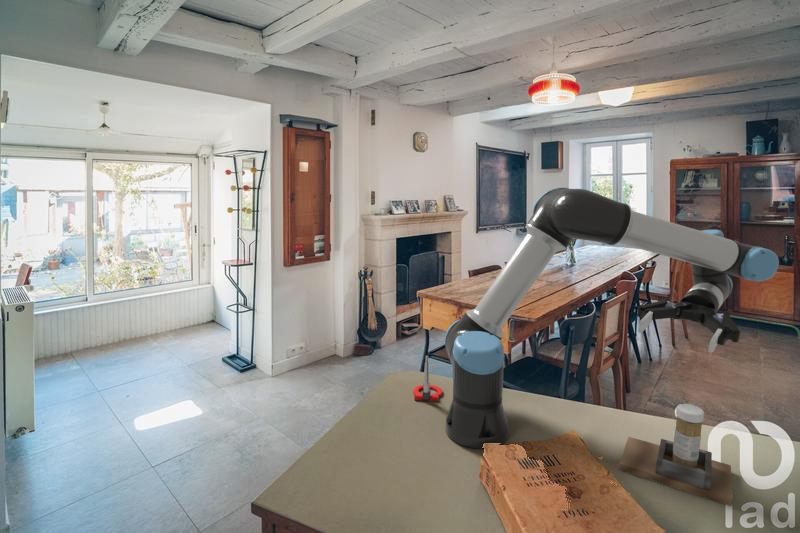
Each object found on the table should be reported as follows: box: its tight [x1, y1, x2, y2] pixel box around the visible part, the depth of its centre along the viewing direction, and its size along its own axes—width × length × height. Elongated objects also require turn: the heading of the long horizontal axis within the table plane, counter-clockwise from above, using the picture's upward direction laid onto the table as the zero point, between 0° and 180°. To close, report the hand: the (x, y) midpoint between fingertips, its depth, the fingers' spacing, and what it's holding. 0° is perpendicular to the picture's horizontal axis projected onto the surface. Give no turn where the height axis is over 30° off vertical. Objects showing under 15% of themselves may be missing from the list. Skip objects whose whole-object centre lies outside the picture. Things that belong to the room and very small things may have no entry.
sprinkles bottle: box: [672, 403, 705, 469], centre depth 89 cm, size 5×5×13 cm
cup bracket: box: [618, 436, 733, 507], centre depth 92 cm, size 19×12×4 cm, turn 55°
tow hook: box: [412, 355, 443, 402], centre depth 126 cm, size 8×13×9 cm
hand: (674, 336), depth 96 cm, fingers open, 13 cm apart
